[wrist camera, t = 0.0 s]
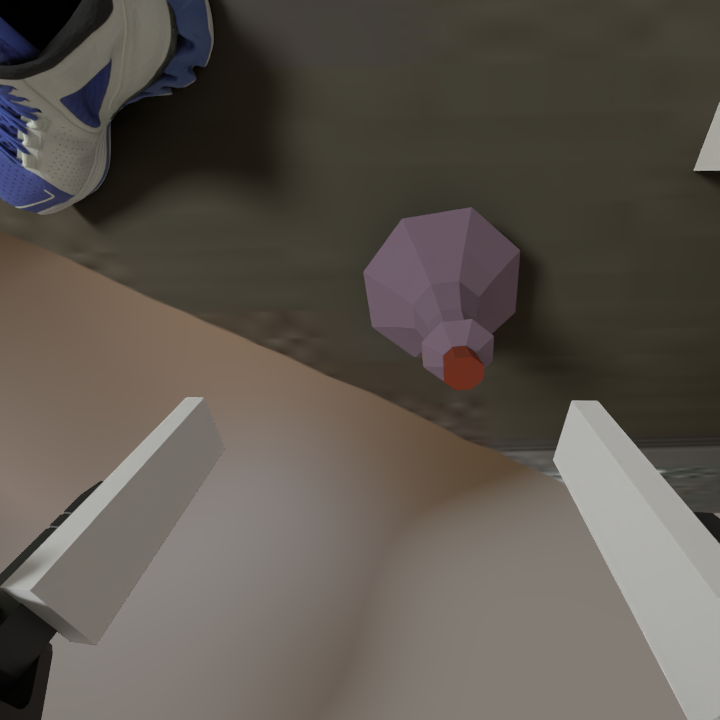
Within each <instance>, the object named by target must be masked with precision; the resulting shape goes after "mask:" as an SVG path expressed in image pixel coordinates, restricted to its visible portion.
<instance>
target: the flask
mask: <svg viewBox="0 0 720 720" xmlns="http://www.w3.org/2000/svg"><path fill="white" fill-rule="evenodd" d="M519 261H520V250H519V249H518V248H517V247H516V246H515V245H514V244H513V243H511V242H510V241H509V240H508V239H507V238H506V237H505V236H503V235H502V234H501V233H500V232H499V231H498V230H497V229H496V228H494V227H493V226H492V225H491V224H490V223H489V222H488V221H487V220H485V219H484V218H483V217H482V216H481V215H480V214H479V213H478V212H476V211H475V210H474V209H473V208H472V207H470V208H464V209H458V210H452V211H446V212H440V213H434V214H428V215H422V216H416V217H410V218H404V219H401V221H400V222H399V224H398V225H397V226H396V228H395V229H394V231H393V232H392V233H391V235H390V236H389V237H388V239H387V240H386V242H385V243H384V244H383V246H382V247H381V248H380V250H379V251H378V253H377V254H376V255H375V257H374V258H373V259H372V261H371V262H370V264H369V265H368V266H367V268H366V269H365V270H364V272H363V273H364V279H365V285H366V292H367V298H368V304H369V310H370V316H371V323H372V327H373V328H374V329H376V330H377V331H378V332H380V333H381V334H383V335H384V336H385V337H387V338H388V339H390V340H391V341H392V342H394V343H395V344H397V345H398V346H399V347H401V348H402V349H404V350H405V351H406V352H408V353H409V354H411V355H412V356H413V357H415V358H417V357H423V367H424V368H426V369H427V370H429V371H430V372H431V373H433V374H434V375H436V376H437V377H438V378H440V379H441V380H443V381H444V382H445V383H446V384H448V385H449V386H451V387H452V388H453V389H455V390H466V389H473V388H474V387H475V386H476V385H477V384H479V383H480V382H481V381H482V380H483V379H484V369H485V368H486V367H487V366H488V365H489V364H490V363H492V362H493V346H494V336H493V335H492V333H493V332H494V331H496V330H497V329H498V328H499V327H500V326H501V325H502V324H503V323H504V322H505V321H506V320H508V319H509V318H510V317H511V316H512V315H513V314H514V313H515V312H516V299H517V286H518V274H519Z"/></svg>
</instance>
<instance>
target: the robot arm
mask: <svg viewBox="0 0 720 720" xmlns="http://www.w3.org/2000/svg"><path fill="white" fill-rule="evenodd" d="M224 450H225V447H224V444H223V442H222V440H221V437H220V435H219V432H218V430H217V427H216V425H215V423H214V420H213V418H212V415H211V413H210V410H209V408H208V405H207V403H206V400H205V398H203V397H201V398H200V397H186V398H185V399H184V400H183V401H182V402H181V404H179V405H178V406H177V408H176V409H174V411H173V412H171V413H170V414H169V416H168V417H167V418H166V419H165V420H164V421H163V422H162V423H161V424H160V425H159V426H158V427H157V428H156V429H155V430H154V431H153V432H152V433H151V434H150V435H149V436H148V437H147V438H146V439H145V440H144V441H143V442H142V443H141V444H140V445H139V446H138V447H137V448H136V449H135V450H134V451H133V452H132V453H131V454H130V455H129V456H128V457H127V458H126V459H125V460H124V461H123V462H122V463H121V464H120V466H119V467H117V468H116V469H115V471H113V472H112V474H110V475H109V477H108V478H107V479H106V480H105V481H100V482H99V483H97V484H96V485H94V486H93V487H91V488H90V489H88V490H87V491H85V492H84V493H83V494H81V495H80V496H79V497H78V498H77V499H76V500H75V501H74V502H73V503H72V504H71V505H70V506H69V507H68V508H67V509H66V510H65V511H64V514H63V515H60V516H59V517H58V518H57V519H56V520H55V521H54V522H53V523H52V524H51V525H50V528H49V529H46V530H45V531H43V533H41V534H40V535H39V536H38V538H36V540H34V541H33V542H32V543H31V544H30V545H29V546H28V547H27V548H26V549H25V550H24V551H23V552H22V553H21V554H20V555H19V556H18V557H17V558H16V559H15V560H14V561H13V562H12V563H11V564H10V565H9V566H8V567H7V568H6V569H5V570H4V571H3V572H2V573H1V574H0V720H41V717H42V711H43V706H44V700H45V694H46V689H47V683H48V677H49V671H50V665H51V659H52V645H51V644H50V643H49V641H50V640H51V639H52V637H53V636H54V635H55V633H56V632H58V633H60V634H61V635H62V636H64V637H65V638H66V639H68V640H69V641H70V642H76V643H84V644H90V645H97V643H98V642H99V640H100V639H101V637H102V636H103V634H104V633H105V631H106V629H107V628H108V626H109V625H110V623H111V622H112V620H113V619H114V617H115V616H116V614H117V613H118V611H119V610H120V608H121V607H122V605H123V604H124V602H125V600H126V599H127V598H128V596H129V595H130V593H131V591H132V590H133V588H134V587H135V585H136V584H137V582H138V581H139V579H140V578H141V576H142V575H143V573H144V572H145V570H146V569H147V567H148V565H149V564H150V563H151V561H152V559H153V558H154V556H155V555H156V553H157V552H158V550H159V549H160V547H161V546H162V544H163V543H164V541H165V540H166V538H167V537H168V535H169V534H170V532H171V531H172V529H173V528H174V526H175V525H176V523H177V521H178V520H179V518H180V517H181V515H182V514H183V512H184V511H185V509H186V507H187V506H188V505H189V503H190V502H191V500H192V499H193V497H194V495H195V494H196V492H197V491H198V489H199V488H200V486H201V485H202V483H203V482H204V480H205V479H206V477H207V476H208V474H209V473H210V471H211V470H212V468H213V467H214V465H215V464H216V462H217V461H218V459H219V458H220V456H221V455H222V453H223V451H224ZM553 461H554V463H555V465H556V467H557V469H558V471H559V473H560V474H561V476H562V478H563V480H564V482H565V484H566V486H567V488H568V490H569V492H570V494H571V495H572V498H573V499H574V501H575V503H576V505H577V507H578V509H579V511H580V513H581V515H582V516H583V519H584V521H585V523H586V524H587V526H588V528H589V530H590V532H591V534H592V536H593V538H594V540H595V542H596V544H597V546H598V548H599V549H600V551H601V553H602V555H603V557H604V559H605V561H606V563H607V565H608V567H609V569H610V571H611V573H612V574H613V576H614V578H615V580H616V582H617V584H618V586H619V588H620V590H621V592H622V594H623V596H624V598H625V600H626V602H627V603H628V605H629V607H630V609H631V611H632V613H633V615H634V617H635V619H636V621H637V623H638V625H639V626H640V629H641V630H642V632H643V634H644V636H645V638H646V640H647V642H648V644H649V646H650V648H651V650H652V652H653V653H654V655H655V657H656V659H657V661H658V663H659V665H660V667H661V669H662V671H663V673H664V674H665V677H666V678H667V681H668V682H669V684H670V686H671V688H672V690H673V692H674V694H675V696H676V698H677V700H678V702H679V704H680V706H681V708H682V709H683V711H684V713H685V715H686V717H687V719H688V720H720V519H719V518H718V517H717V516H715V515H714V514H713V513H702V512H692V511H691V510H690V509H689V507H688V506H687V505H686V504H685V503H684V502H683V500H682V499H681V498H680V497H679V496H678V495H677V493H676V492H675V491H674V490H673V489H672V487H671V486H670V485H669V484H668V483H667V482H666V480H665V479H664V478H663V477H662V476H661V475H660V473H659V472H658V471H657V470H656V469H655V468H654V466H653V465H652V464H651V463H650V462H649V461H648V459H647V458H646V457H645V456H644V455H643V453H642V452H641V451H640V450H639V449H638V448H637V446H636V445H635V444H634V443H633V442H632V441H631V439H630V438H629V437H628V436H627V435H626V434H625V432H624V431H623V430H622V429H621V428H620V427H619V425H618V424H617V423H616V422H615V421H614V419H613V418H612V417H611V416H610V415H609V414H608V412H607V411H606V410H605V409H604V408H603V407H602V405H601V404H600V403H599V402H598V401H571V405H570V408H569V411H568V414H567V417H566V420H565V424H564V427H563V430H562V433H561V436H560V439H559V443H558V446H557V449H556V452H555V455H554V458H553Z"/></svg>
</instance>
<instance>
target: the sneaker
mask: <svg viewBox="0 0 720 720" xmlns="http://www.w3.org/2000/svg"><path fill="white" fill-rule="evenodd" d="M213 45H214V33H213V21H212V14H211V10H210V6H209V2H208V0H0V198H2V199H3V200H4V201H6V202H7V203H9V204H11V205H13V206H15V207H16V208H20V209H24V210H27V211H31V212H35V213H38V214H51V213H56V212H58V211H60V210H63V209H65V208H67V207H68V206H70V205H72V204H74V203H76V202H78V201H80V200H82V199H84V198H85V197H87V196H88V195H90V194H92V193H93V192H94V191H96V190H97V189H98V188H99V187H100V186H101V184H102V183H103V181H104V179H105V177H106V175H107V172H108V169H109V165H110V156H111V120H112V119H113V118H114V116H115V115H116V113H117V112H118V111H119V110H121V109H122V108H124V107H126V105H128V104H130V103H133V102H136V101H138V100H139V99H141V98H144V97H151V96H162V95H172V89H171V88H170V87H175V88H182V87H186V86H188V85H190V84H191V83H193V82H194V81H195V80H196V75H195V73H194V71H193V67H194V66H195V65H196V66H201V67H205V66H207V63H208V61H209V59H210V55H211V52H212V48H213Z"/></svg>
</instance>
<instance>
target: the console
mask: <svg viewBox="0 0 720 720" xmlns="http://www.w3.org/2000/svg"><path fill="white" fill-rule="evenodd" d="M693 171H720V102H719V105H718V108H717V110H716V113H715V115H714V118H713V121H712V123H711V126H710V128H709V131H708V134H707V136H706V139H705V142H704V144H703V147H702V149H701V152H700V155H699V157H698V160H697V162H696V165H695V168H694V170H693Z"/></svg>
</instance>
